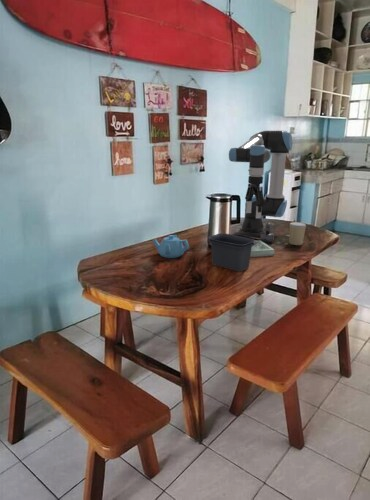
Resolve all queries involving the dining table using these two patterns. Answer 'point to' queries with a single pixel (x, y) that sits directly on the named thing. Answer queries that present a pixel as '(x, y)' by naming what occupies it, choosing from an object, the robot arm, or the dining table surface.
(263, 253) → the tray
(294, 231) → the coffee cup
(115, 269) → the dining table surface
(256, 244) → the ring
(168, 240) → the teapot
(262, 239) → the stake stand
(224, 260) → the storage bin
